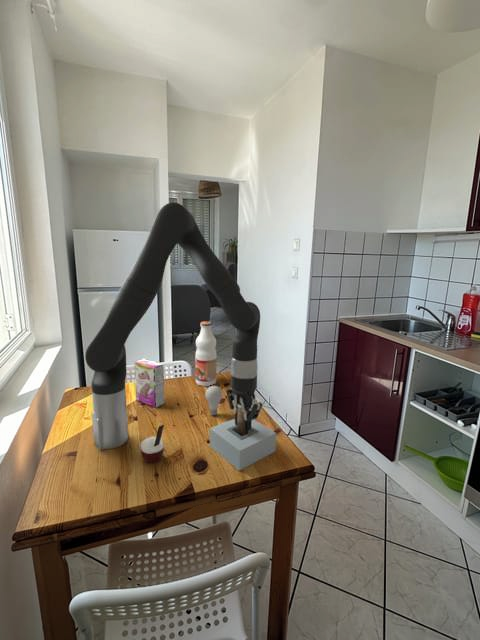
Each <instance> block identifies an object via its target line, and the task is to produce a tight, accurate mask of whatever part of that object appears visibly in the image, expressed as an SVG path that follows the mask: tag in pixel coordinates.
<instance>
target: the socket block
mask: <svg viewBox="0 0 480 640" xmlns="http://www.w3.org/2000/svg"><path fill="white" fill-rule="evenodd" d="M276 445H277V432H275V431H273V430H272V429H270V428H268V427H267V426H265V425H264V424H262V423H260V422H259V421H257V420H256V419H254V420H252V423H251V429H250V430H249V433H248V434H246V435H244V436H240V435H239V434H237V425H235V418H233V419H230V420H227V421H225V422H223V423H220V424H218V425H215V426H212V427H211V428H209V447H210V449H212V450H213V451H215V452H216V453H217V454H218V455H219V456H221V457H222V459H224V460H226V462H228V463H229V464H230V465H232V466H233V467H234V468H235V469H236V470H238V471H242V470H244V469H245V468H247V467H248V466H251V465H254V464H255V463H256V462H259V461H260V460H262V459H264V458H266V457H267V456H270V455H272V453H275V452H276Z"/></svg>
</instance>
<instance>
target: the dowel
mask: <svg viewBox="0 0 480 640" xmlns="http://www.w3.org/2000/svg"><path fill="white" fill-rule="evenodd" d="M247 408H249V407H247ZM247 408H246V409H247ZM247 414H248V415H249V412H248V413H247ZM243 429H244V413H243V412H242V407H241V405H239V404H238V415H237V434H239V435H240V436H244V435H246V434H248V433H249V430H248V431H244V430H243Z"/></svg>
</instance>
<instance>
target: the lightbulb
mask: <svg viewBox="0 0 480 640" xmlns="http://www.w3.org/2000/svg"><path fill="white" fill-rule="evenodd" d="M204 395H205V399H206V401H207V402H208V407H209V410H210V411H209V413H210V415H212V416H216V415H217V414H218V409H219V404H220V401H221V400H222V398H223V391H222V389H221V388H220V387H219V386H217V385H212V386H208V388H207V389H206V391H205V394H204Z"/></svg>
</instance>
